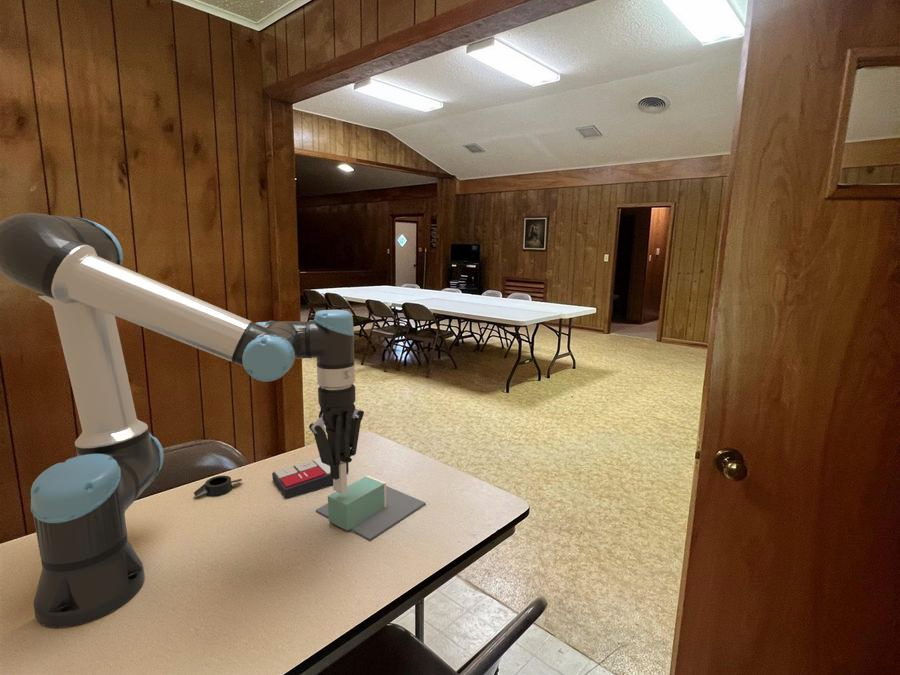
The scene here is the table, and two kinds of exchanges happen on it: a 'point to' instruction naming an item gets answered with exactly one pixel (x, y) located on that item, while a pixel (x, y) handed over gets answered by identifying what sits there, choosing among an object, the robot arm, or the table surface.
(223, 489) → the black ring with arms
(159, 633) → the table surface
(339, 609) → the table surface
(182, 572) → the table surface
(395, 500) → the mat
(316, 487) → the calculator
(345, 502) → the block
